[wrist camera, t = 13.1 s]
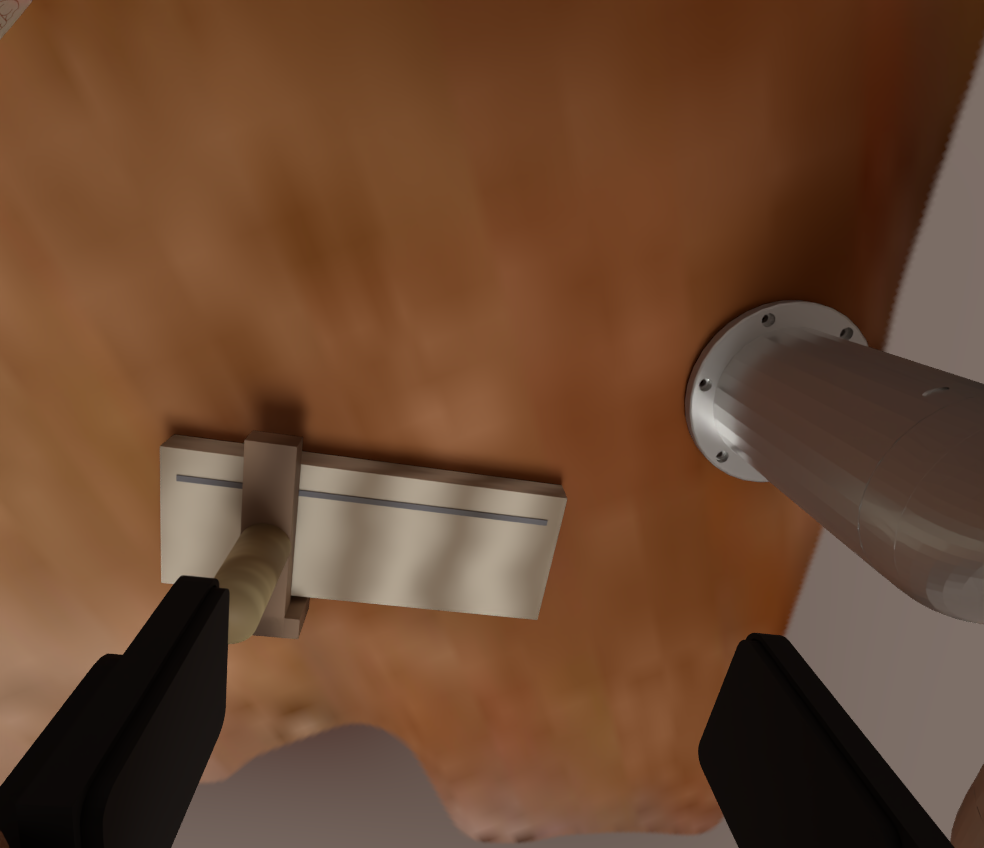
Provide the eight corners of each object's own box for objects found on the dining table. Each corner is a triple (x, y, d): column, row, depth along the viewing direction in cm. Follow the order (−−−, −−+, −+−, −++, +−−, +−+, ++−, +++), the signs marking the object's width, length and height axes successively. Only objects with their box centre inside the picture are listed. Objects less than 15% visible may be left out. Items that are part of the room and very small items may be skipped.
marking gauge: (324, 429, 38) (284, 505, 28) (308, 607, 42) (268, 725, 33) (244, 418, 37) (174, 492, 27) (237, 601, 42) (174, 718, 32)
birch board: (561, 485, 41) (567, 499, 39) (533, 602, 44) (537, 620, 42) (173, 434, 38) (159, 446, 36) (174, 565, 41) (160, 583, 39)
